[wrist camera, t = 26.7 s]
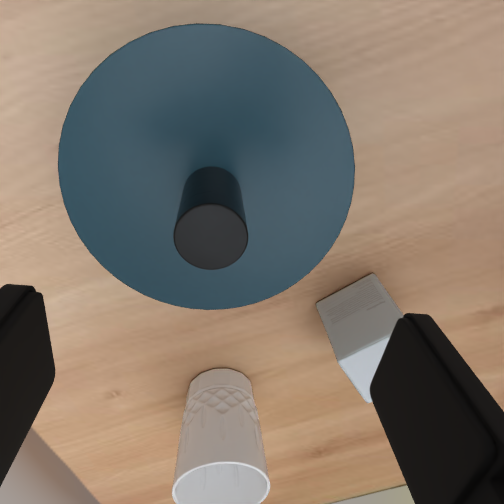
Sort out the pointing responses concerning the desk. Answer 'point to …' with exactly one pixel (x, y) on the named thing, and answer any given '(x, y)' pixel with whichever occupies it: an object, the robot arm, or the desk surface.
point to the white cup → (220, 443)
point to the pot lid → (206, 166)
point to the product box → (359, 328)
